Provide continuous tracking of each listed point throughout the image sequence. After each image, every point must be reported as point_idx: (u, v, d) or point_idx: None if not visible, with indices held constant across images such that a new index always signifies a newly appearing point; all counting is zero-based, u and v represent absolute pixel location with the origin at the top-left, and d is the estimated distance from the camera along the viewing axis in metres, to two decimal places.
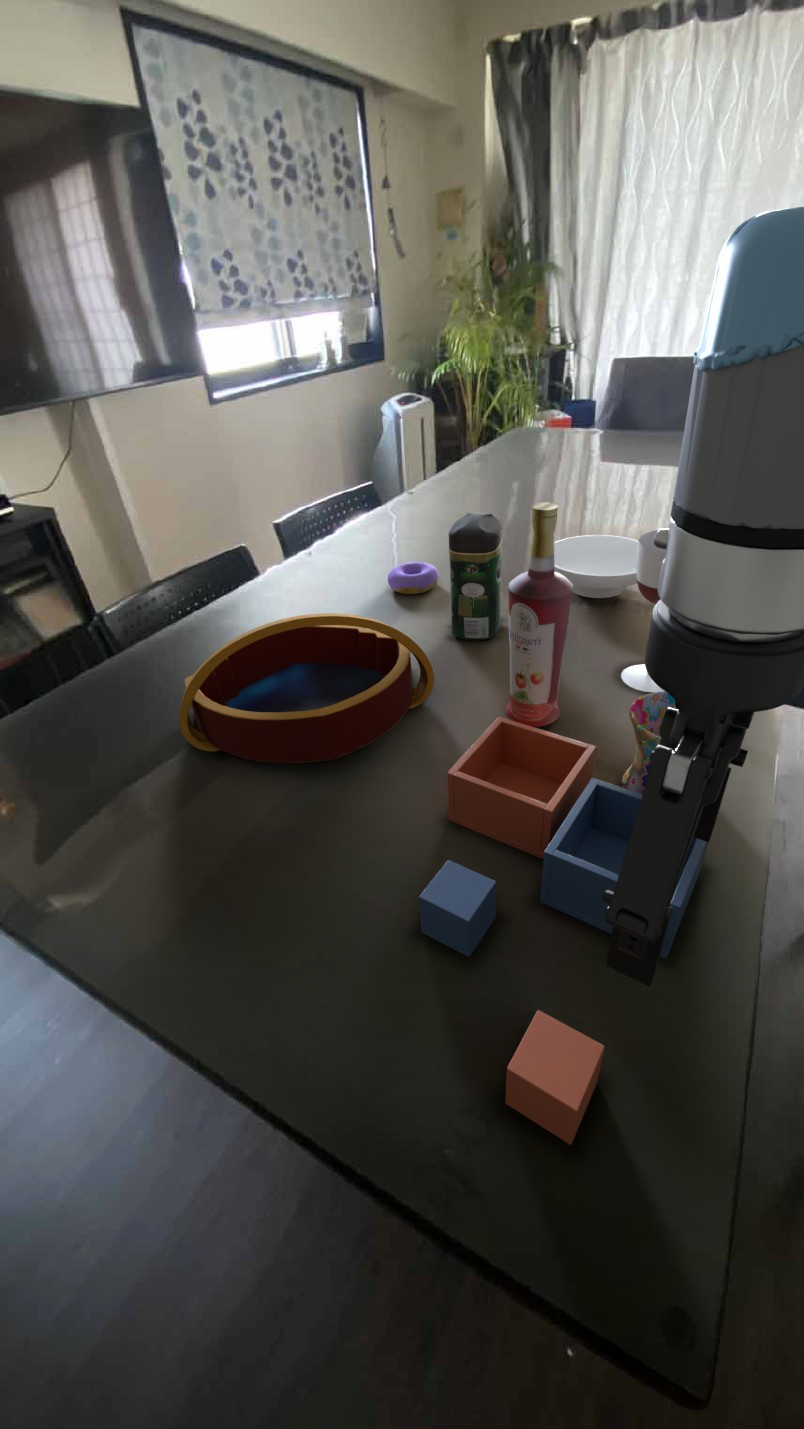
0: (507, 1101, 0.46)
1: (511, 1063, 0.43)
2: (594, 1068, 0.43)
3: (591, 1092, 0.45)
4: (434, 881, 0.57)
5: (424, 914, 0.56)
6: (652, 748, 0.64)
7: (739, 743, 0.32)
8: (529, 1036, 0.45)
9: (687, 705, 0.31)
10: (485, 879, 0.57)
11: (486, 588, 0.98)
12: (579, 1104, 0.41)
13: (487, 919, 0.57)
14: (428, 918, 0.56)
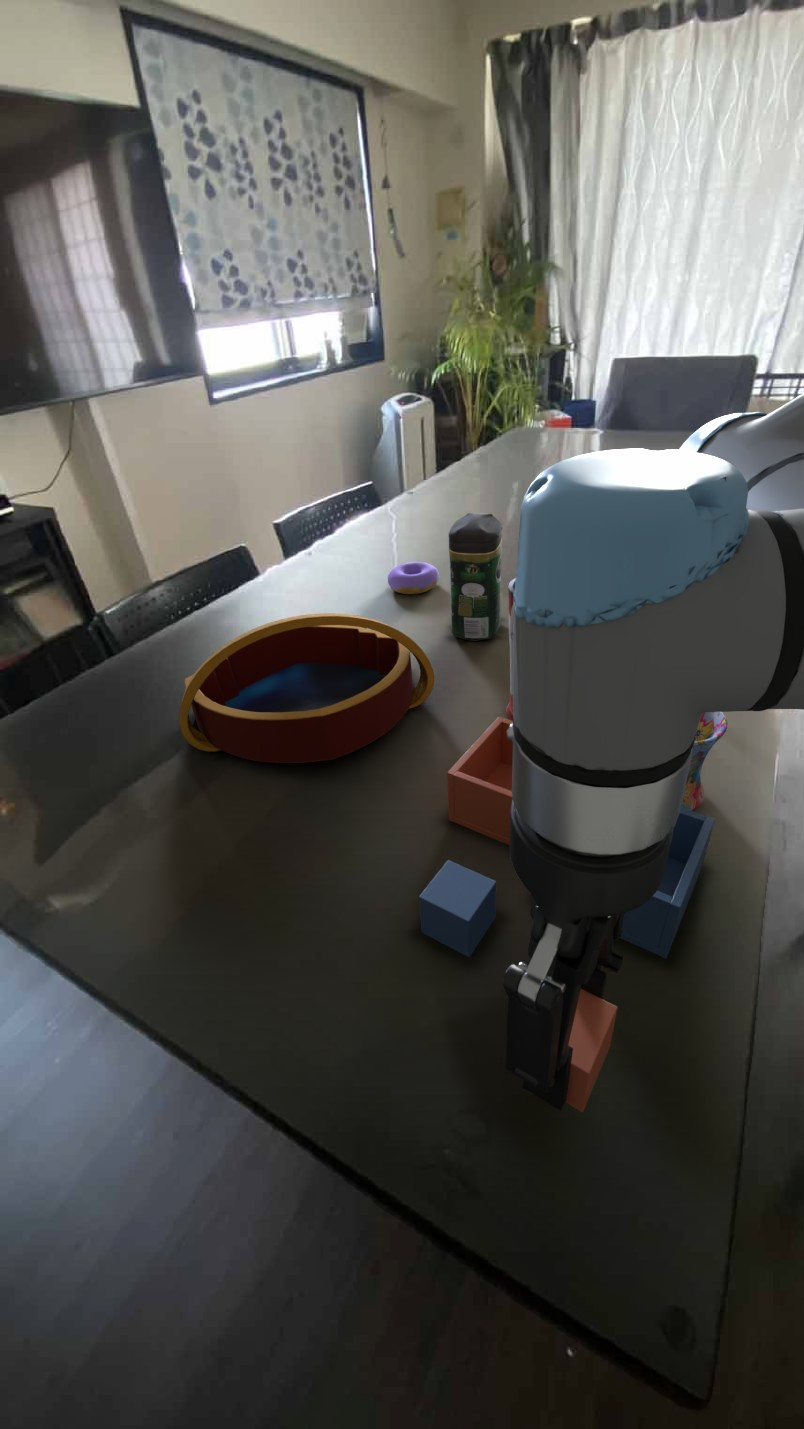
0: None
1: None
2: (606, 1029, 0.40)
3: (603, 1057, 0.42)
4: (434, 881, 0.57)
5: (424, 914, 0.56)
6: None
7: (602, 938, 0.32)
8: None
9: (542, 905, 0.30)
10: (485, 879, 0.57)
11: (486, 588, 0.98)
12: (591, 1066, 0.38)
13: (487, 919, 0.57)
14: (428, 918, 0.56)
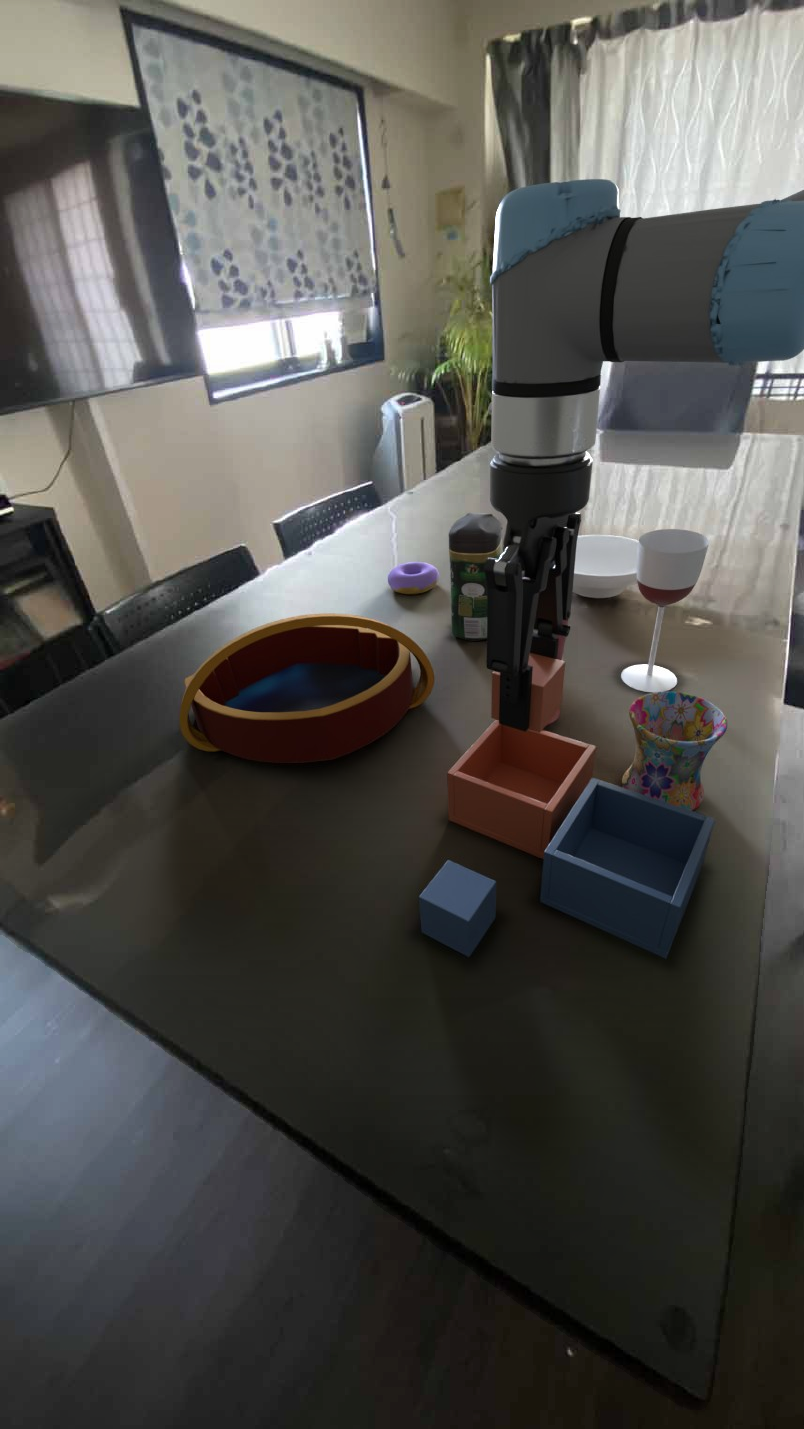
0: (492, 713, 0.60)
1: None
2: (557, 670, 0.57)
3: (556, 704, 0.60)
4: (434, 881, 0.57)
5: (424, 914, 0.56)
6: (652, 748, 0.64)
7: (549, 550, 0.49)
8: None
9: (510, 516, 0.47)
10: (485, 879, 0.57)
11: (486, 588, 0.98)
12: (545, 684, 0.56)
13: (487, 919, 0.57)
14: (428, 918, 0.56)
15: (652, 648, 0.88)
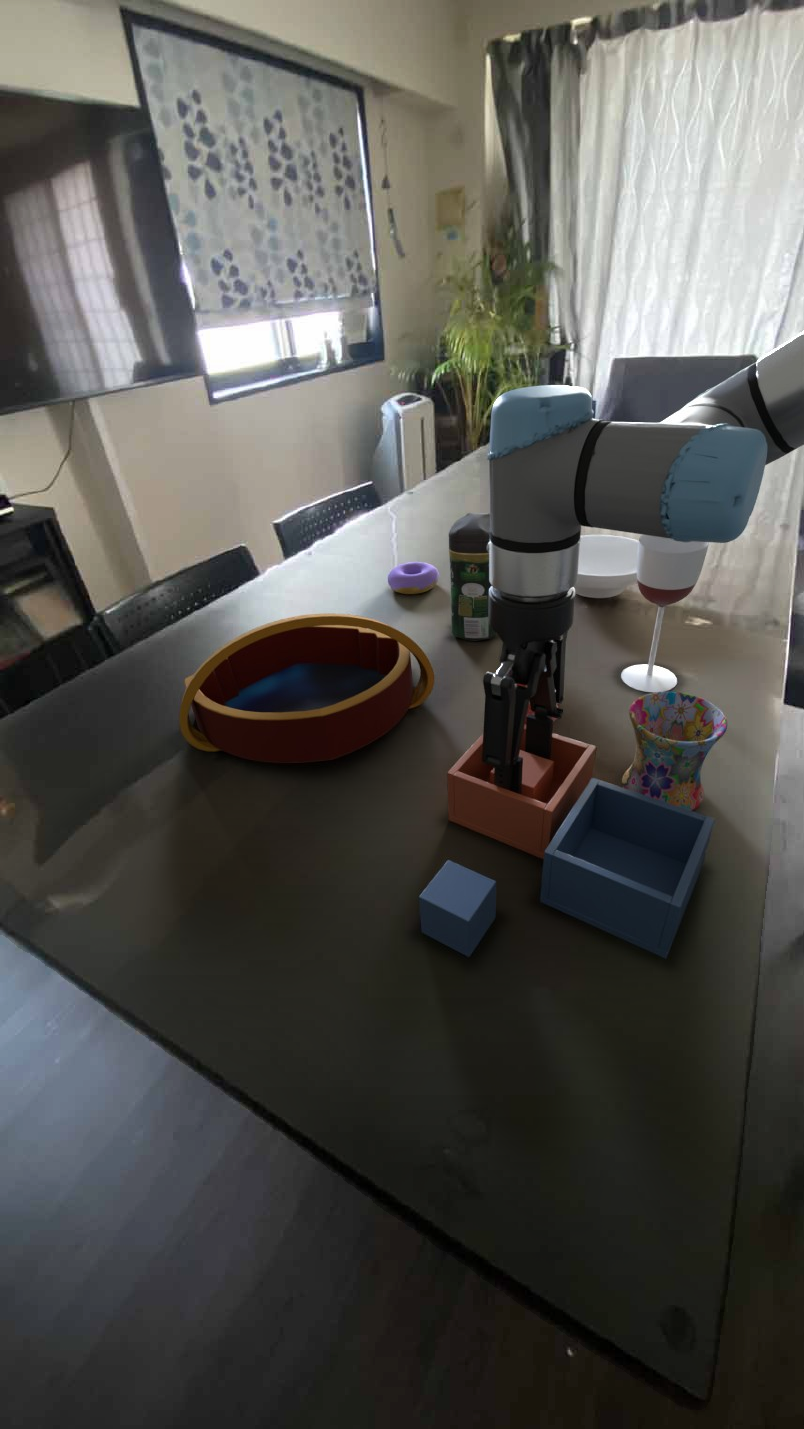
0: None
1: (493, 769, 0.68)
2: (546, 770, 0.67)
3: (546, 796, 0.69)
4: (434, 881, 0.57)
5: (424, 914, 0.56)
6: (652, 748, 0.64)
7: (538, 664, 0.57)
8: None
9: (505, 639, 0.56)
10: (485, 879, 0.57)
11: (486, 588, 0.98)
12: (535, 785, 0.65)
13: (487, 919, 0.57)
14: (428, 918, 0.56)
15: (652, 648, 0.88)
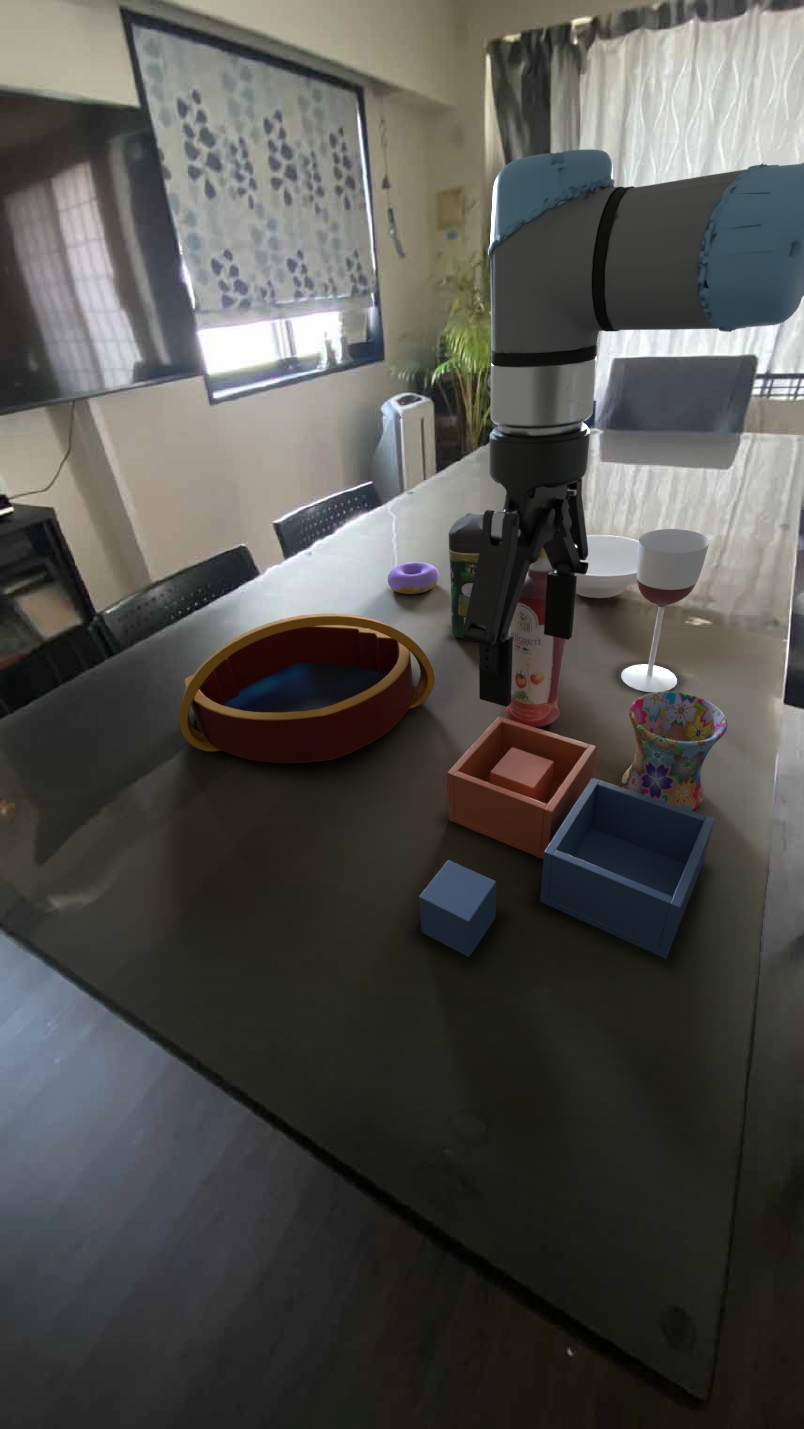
0: None
1: (493, 769, 0.68)
2: (546, 770, 0.67)
3: (546, 796, 0.69)
4: (434, 881, 0.57)
5: (424, 914, 0.56)
6: (652, 748, 0.64)
7: (547, 517, 0.50)
8: (505, 758, 0.69)
9: (509, 487, 0.48)
10: (485, 879, 0.57)
11: None
12: (535, 785, 0.65)
13: (487, 919, 0.57)
14: (428, 918, 0.56)
15: (652, 648, 0.88)
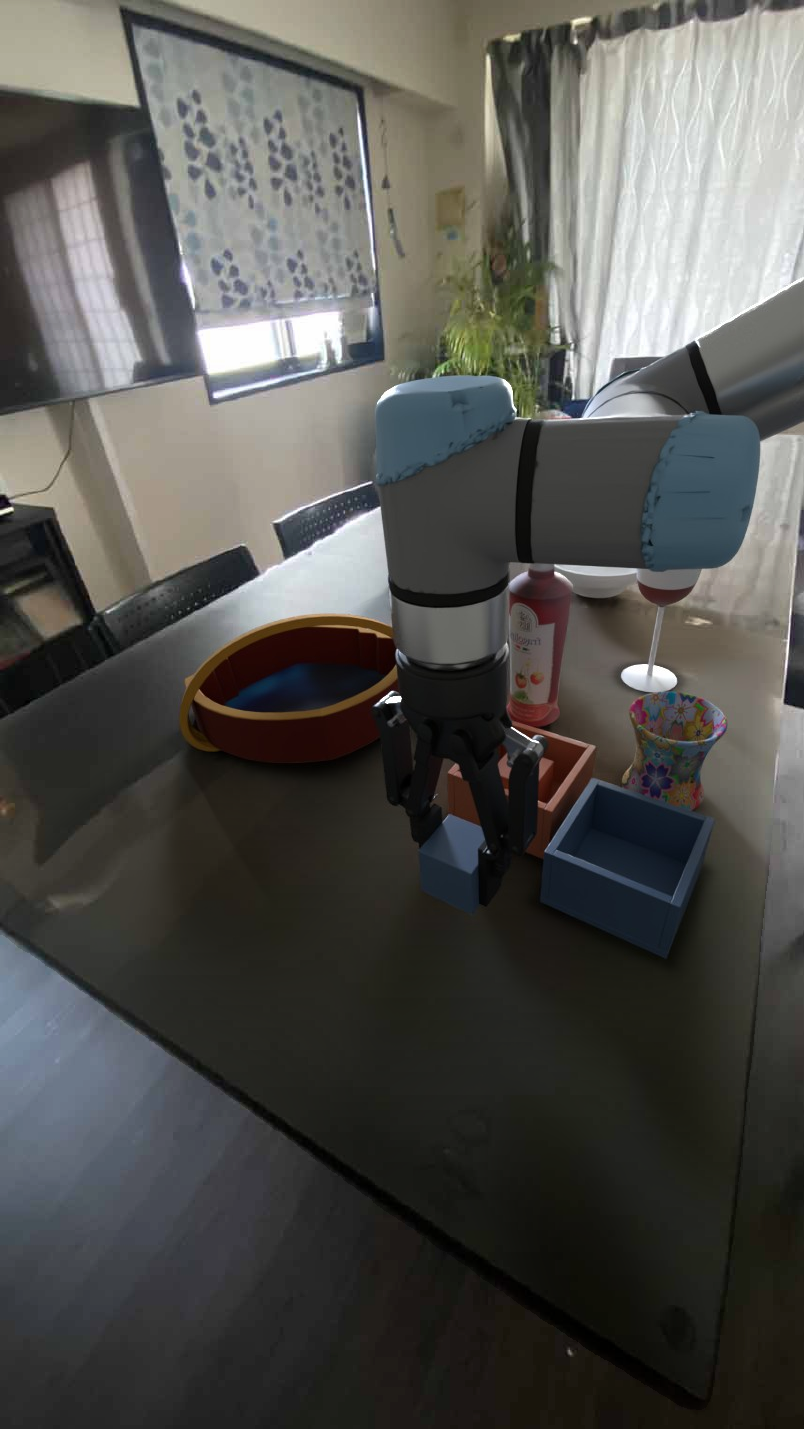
0: None
1: None
2: (546, 770, 0.67)
3: (546, 796, 0.69)
4: (434, 835, 0.53)
5: (424, 870, 0.53)
6: (652, 748, 0.64)
7: (417, 730, 0.46)
8: (505, 758, 0.69)
9: None
10: None
11: None
12: None
13: None
14: (428, 874, 0.53)
15: (652, 648, 0.88)
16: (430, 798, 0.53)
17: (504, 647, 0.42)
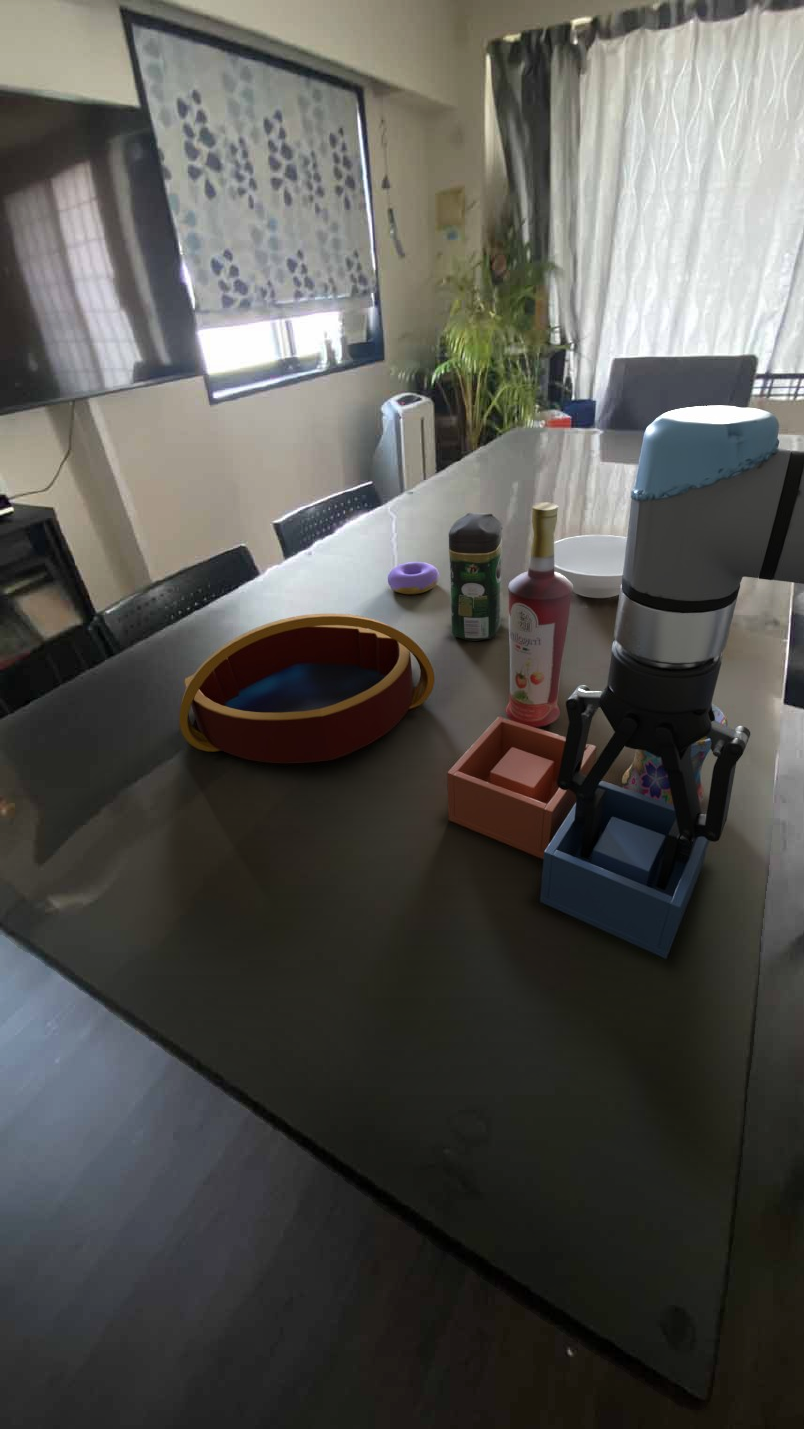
0: None
1: (493, 769, 0.68)
2: (546, 770, 0.67)
3: (546, 796, 0.69)
4: (604, 835, 0.59)
5: None
6: None
7: (620, 723, 0.50)
8: (505, 758, 0.69)
9: None
10: (654, 833, 0.59)
11: (486, 588, 0.98)
12: (535, 785, 0.65)
13: (654, 873, 0.59)
14: None
15: None
16: None
17: None
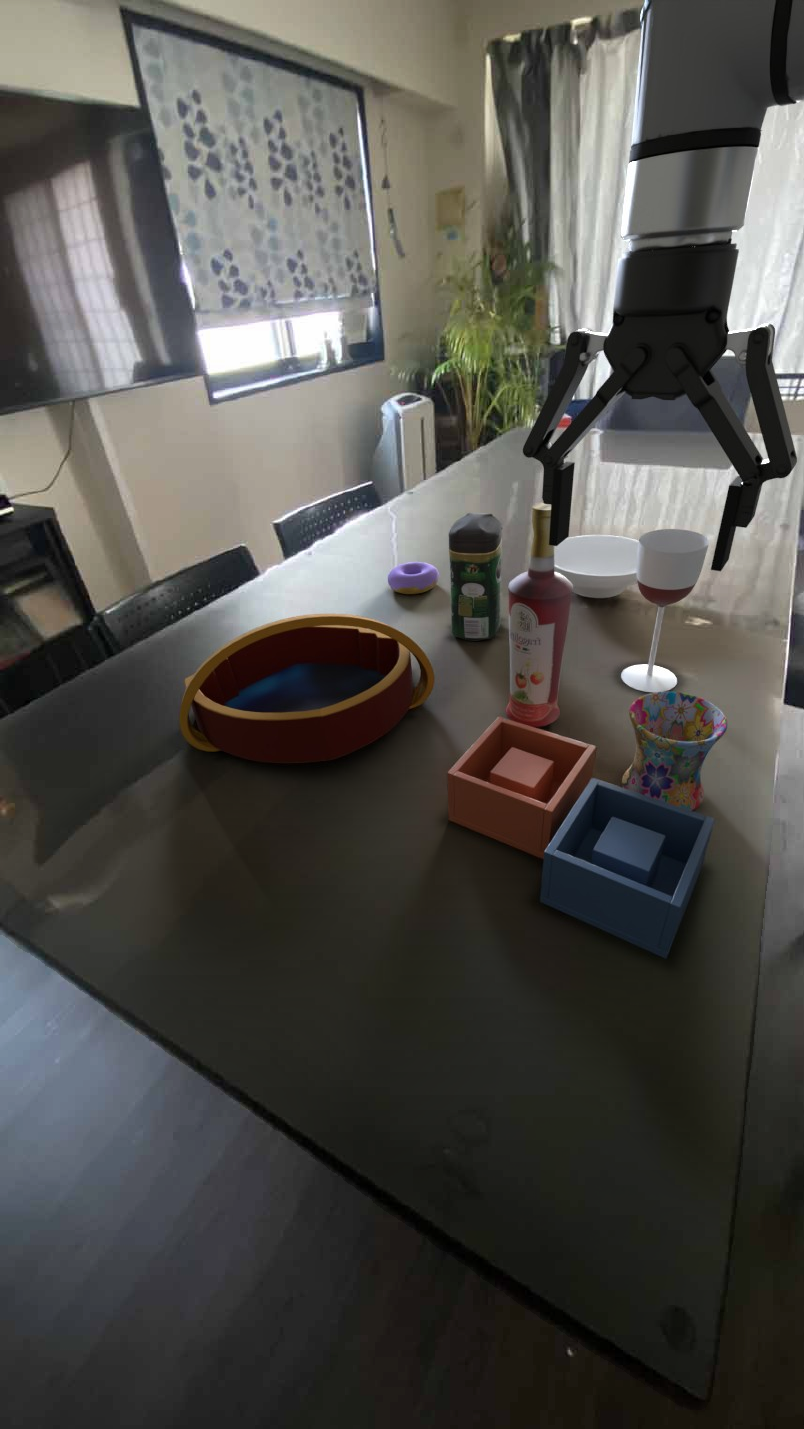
0: None
1: (493, 769, 0.68)
2: (546, 770, 0.67)
3: (546, 796, 0.69)
4: (604, 835, 0.59)
5: None
6: (652, 748, 0.64)
7: (627, 355, 0.46)
8: (505, 758, 0.69)
9: None
10: (654, 833, 0.59)
11: (486, 588, 0.98)
12: (535, 785, 0.65)
13: (654, 873, 0.59)
14: None
15: (652, 648, 0.88)
16: (566, 454, 0.54)
17: None
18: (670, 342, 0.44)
